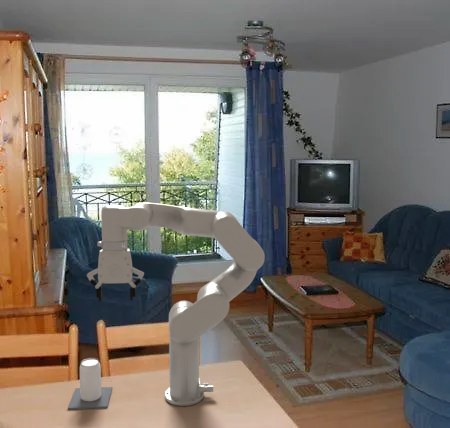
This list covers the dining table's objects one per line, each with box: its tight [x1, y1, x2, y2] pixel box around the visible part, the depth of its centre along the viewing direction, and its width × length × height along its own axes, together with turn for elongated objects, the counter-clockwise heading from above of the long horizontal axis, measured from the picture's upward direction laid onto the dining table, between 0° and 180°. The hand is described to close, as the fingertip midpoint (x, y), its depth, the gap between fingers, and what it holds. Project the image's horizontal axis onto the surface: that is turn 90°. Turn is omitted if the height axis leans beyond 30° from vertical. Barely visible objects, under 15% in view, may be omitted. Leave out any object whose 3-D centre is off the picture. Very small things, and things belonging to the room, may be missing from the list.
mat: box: [67, 386, 113, 411], centre depth 156 cm, size 12×12×1 cm
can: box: [79, 357, 102, 402], centre depth 155 cm, size 6×6×12 cm
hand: (116, 299), depth 151 cm, fingers open, 9 cm apart
